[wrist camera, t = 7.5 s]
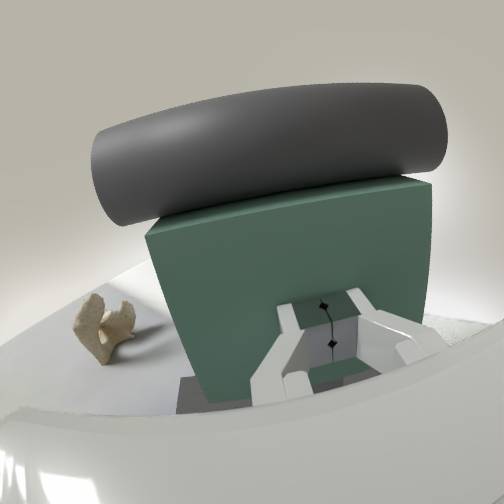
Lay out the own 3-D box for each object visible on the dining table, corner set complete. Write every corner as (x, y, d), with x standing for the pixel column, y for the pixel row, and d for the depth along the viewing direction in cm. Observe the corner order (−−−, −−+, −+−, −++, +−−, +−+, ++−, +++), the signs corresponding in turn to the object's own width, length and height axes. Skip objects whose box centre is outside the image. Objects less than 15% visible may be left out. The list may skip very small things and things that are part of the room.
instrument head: (191, 428, 12) (75, 129, 7) (198, 355, 18) (132, 131, 13) (431, 370, 12) (447, 78, 7) (387, 313, 18) (377, 93, 13)
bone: (117, 308, 38) (109, 259, 31) (148, 335, 36) (146, 290, 30) (74, 344, 31) (53, 299, 25) (105, 377, 30) (87, 339, 23)
